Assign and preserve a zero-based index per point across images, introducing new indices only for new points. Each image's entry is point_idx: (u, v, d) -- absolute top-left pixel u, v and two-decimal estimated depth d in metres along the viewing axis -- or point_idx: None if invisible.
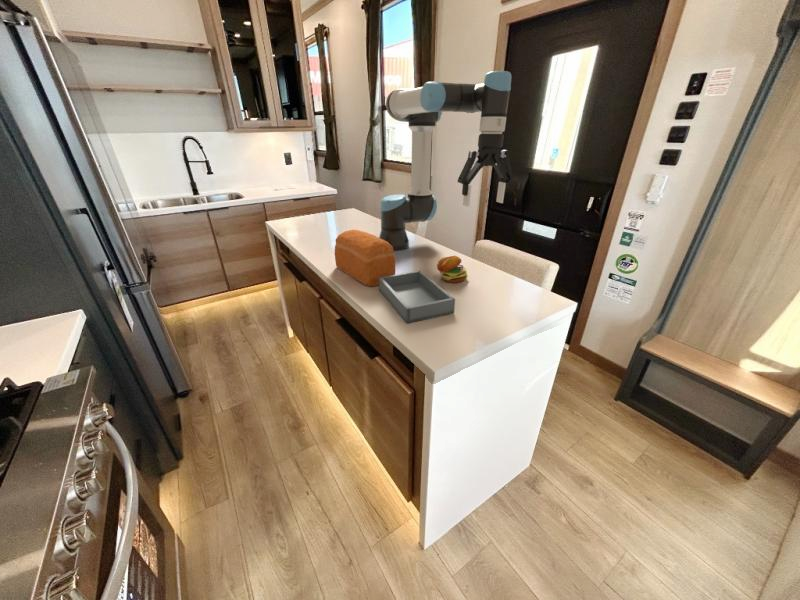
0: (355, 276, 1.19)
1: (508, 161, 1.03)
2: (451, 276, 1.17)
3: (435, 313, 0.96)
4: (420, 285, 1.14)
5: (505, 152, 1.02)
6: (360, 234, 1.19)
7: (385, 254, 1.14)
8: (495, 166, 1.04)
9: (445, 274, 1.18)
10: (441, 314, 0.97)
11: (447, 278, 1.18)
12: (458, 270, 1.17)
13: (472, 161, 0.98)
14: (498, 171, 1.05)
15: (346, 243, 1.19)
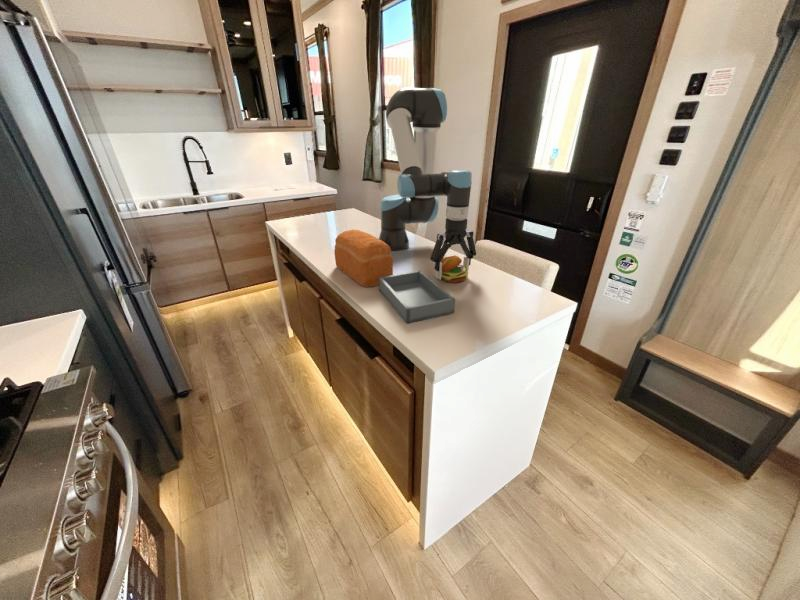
0: (352, 276, 1.19)
1: (472, 240, 1.17)
2: (451, 276, 1.17)
3: (435, 313, 0.96)
4: (420, 285, 1.14)
5: (470, 233, 1.15)
6: (359, 234, 1.19)
7: (382, 255, 1.13)
8: (460, 244, 1.17)
9: (445, 274, 1.18)
10: (441, 314, 0.97)
11: (447, 278, 1.18)
12: (458, 270, 1.17)
13: (440, 243, 1.12)
14: (463, 248, 1.18)
15: (344, 243, 1.19)
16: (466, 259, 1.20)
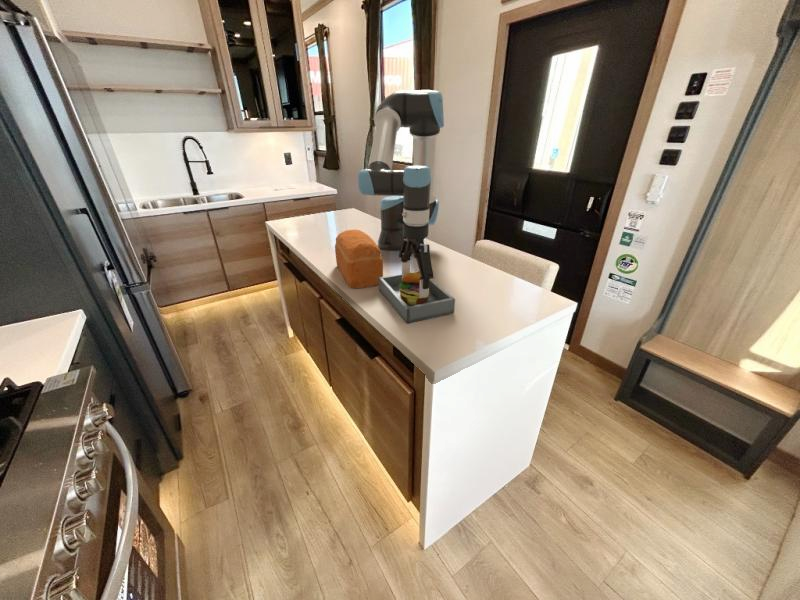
0: (343, 276, 1.20)
1: (422, 257, 0.91)
2: None
3: (435, 313, 0.96)
4: None
5: None
6: (354, 234, 1.19)
7: (370, 257, 1.11)
8: None
9: None
10: (441, 314, 0.97)
11: None
12: (404, 287, 1.02)
13: (402, 242, 1.02)
14: None
15: (340, 242, 1.20)
16: None
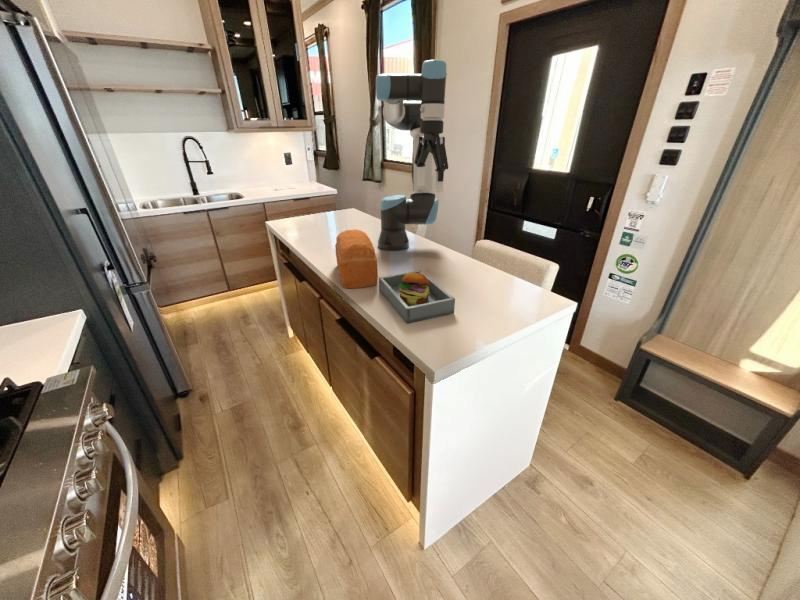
0: None
1: (438, 148, 1.01)
2: None
3: (435, 313, 0.96)
4: None
5: None
6: (351, 235, 1.19)
7: (363, 258, 1.11)
8: None
9: None
10: (441, 314, 0.97)
11: None
12: (404, 287, 1.02)
13: (418, 145, 1.12)
14: None
15: (338, 242, 1.21)
16: None
